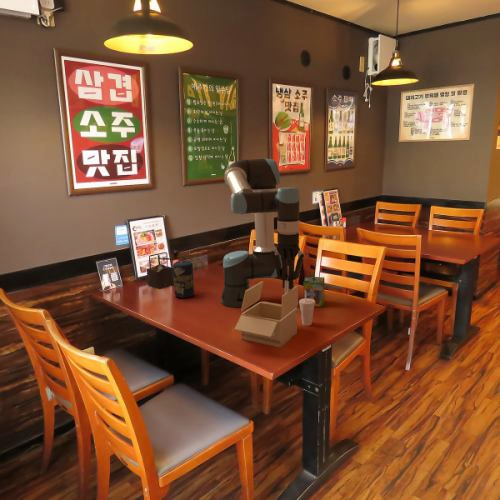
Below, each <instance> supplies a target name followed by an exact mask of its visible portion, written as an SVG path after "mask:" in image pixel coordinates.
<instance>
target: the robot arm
mask: <svg viewBox="0 0 500 500" xmlns="http://www.w3.org/2000/svg"><path fill="white" fill-rule="evenodd" d="M280 174H281V173H280V169H279V166H278V163H277V161H276V160H275V159H273V158H255V159H254V158H253V159H239V160H236V161H234V162H232V163H231V164H230V165H228V166H227V168H226V169H225V171H224V174H223V179H224V183H225V185H226V186H227V187H228V188H229V189H230V191H231V195H230V209H231V213H233V214H235V215H247V214H249V215H251V214H254V232H255V234H254V235H255V236H254V237H255V238H254V239H255V247H253V249H252V253H251V254H250V253H249V251H247V250H236V251H232V252H229V253H226V254H225V255H224V257H223V264H222V268H223V282H224V283H223V284H224V285H223V290H222V293H221V296H220V299H221V301H220V302H221V304H222V305H223V306H225V307H230V308H242V304H243V299H244V294H245V291H246V290H248V289H249V288H251V286H250V280H258V279H259V280H262V279H271V278H272V279H273V278H279V279H282V288H283V289H284V294H285V293H287V292H288V291H290V290H291V289H293V288H294V287H295V286H294V283H295V282H294V281H296V280H297V279H299V278H300V275H301V270H302V267H303V263H304V259H305V258H306V256H307V253H305V252H303V251H301V248H300V233H299V232H300V199H301V196H300V189H299V188H298V187H293V186H286V187H284V186H283V187H278V189H277V186H279V185H280V182H281V180H280V179H281V175H280ZM274 213H277V222H276V223H277V224H276V225H277V232H278V233H277V242H276V243H277V246H275V228H274V225H275V224H274V221H275V218H274V217H275V216H274ZM296 257H297V261H296ZM295 261H296V265H295Z"/></svg>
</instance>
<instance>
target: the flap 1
mask: <svg viewBox="0 0 500 500" xmlns="http://www.w3.org/2000/svg"><path fill="white" fill-rule="evenodd" d="M263 286H264V280H262V281H260V282H258V283H257V284H255V285H252V286H250V288H249V289H248V290H246V291H245V294H244V299H243V304H242V307H240V311H241V312H244V311H246V310H247V309H249V308H250V307H251V306H252V305H255V304H256V303H257V302H258V301H259V302H260V298H261V294H262V290H263Z"/></svg>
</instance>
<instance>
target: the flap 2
mask: <svg viewBox="0 0 500 500" xmlns="http://www.w3.org/2000/svg"><path fill="white" fill-rule="evenodd" d="M276 325H277V322H274V321H269V320H264V319H259V318H253V317H248V316H243V315H241V314H240V316H239V319H238V320H237V323H236V325H235V327H234V331H240V332H242V331H243V332H248V333H253V334H257V335H262V336H267V337H272V335H273V332H274V330H275V328H276Z"/></svg>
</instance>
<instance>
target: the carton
mask: <svg viewBox="0 0 500 500" xmlns="http://www.w3.org/2000/svg"><path fill="white" fill-rule="evenodd" d="M281 308H282V306H280V305H274V304H268V303H262V301H259V302H258V303H257V302H256V303H255V304H253V306H252V307H251V306H250V307H249V308H247V309H246V310H244V311H242V313H240V316H241V315H243V316H248V317H253V318H259V319H264V320H269V321H274V322H277V325H276V328H275V330H274V332H273V335H272V337H267V336H262V335H257V334H253V333H248V332H243V331H241V339H242V340H244V341H249V342H253V343H256V344H257V343H258V344H261V345H267V346H271V347H276V348H281V349H282V347H284V346H285V345H286V344H287V343H288V342H289V341H290V340H291V339H292V338H294V336H295V335H297V333H298V314H297V313H298V312H297V308H298V307H297V308H295V309H294V310H292V311H291V312H290V313H289V314H287V315H286V316H285V317H284V318H281Z"/></svg>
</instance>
